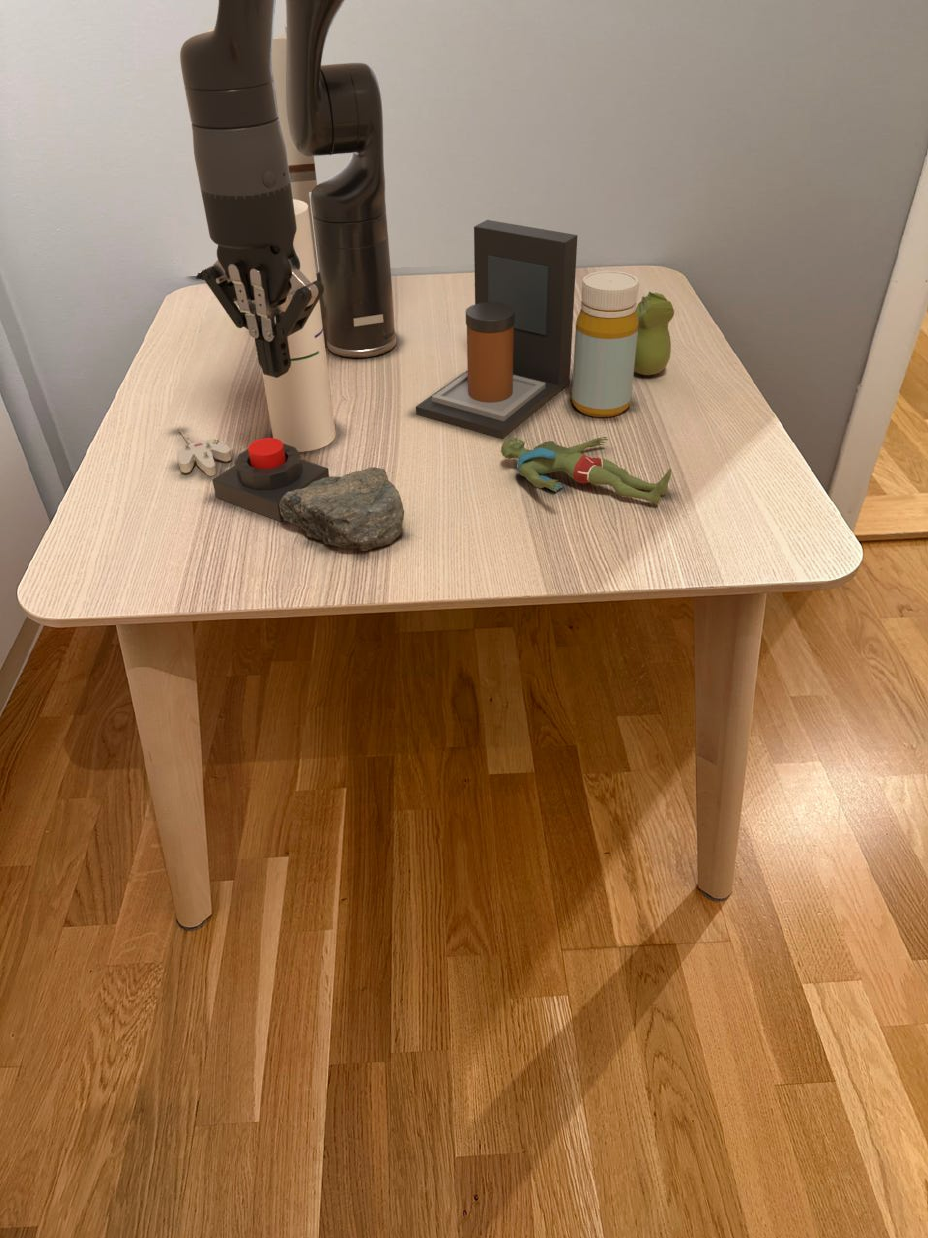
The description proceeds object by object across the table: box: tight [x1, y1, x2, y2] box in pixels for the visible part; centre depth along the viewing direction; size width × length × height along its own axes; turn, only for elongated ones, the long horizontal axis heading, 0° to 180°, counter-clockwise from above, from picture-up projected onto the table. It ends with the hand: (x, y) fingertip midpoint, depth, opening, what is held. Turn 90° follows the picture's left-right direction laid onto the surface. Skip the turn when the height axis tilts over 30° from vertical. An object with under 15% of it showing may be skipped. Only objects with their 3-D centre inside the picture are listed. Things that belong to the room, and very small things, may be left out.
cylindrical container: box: [260, 199, 336, 453], centre depth 100 cm, size 7×7×25 cm
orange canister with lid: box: [465, 302, 515, 402], centre depth 110 cm, size 7×6×10 cm
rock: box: [279, 466, 405, 552], centre depth 91 cm, size 12×10×5 cm
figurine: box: [500, 436, 672, 506], centre depth 97 cm, size 16×4×18 cm
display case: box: [206, 24, 319, 273], centre depth 126 cm, size 11×11×35 cm
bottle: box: [571, 270, 640, 418], centre depth 107 cm, size 7×7×15 cm
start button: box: [247, 437, 286, 469], centre depth 96 cm, size 4×4×2 cm
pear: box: [634, 291, 675, 376], centre depth 115 cm, size 6×5×10 cm
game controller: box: [176, 428, 232, 477], centre depth 104 cm, size 6×12×3 cm, turn 49°
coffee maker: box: [415, 219, 578, 440], centre depth 108 cm, size 16×12×18 cm
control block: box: [211, 444, 330, 522], centre depth 97 cm, size 9×8×4 cm
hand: (276, 373), depth 89 cm, fingers closed
